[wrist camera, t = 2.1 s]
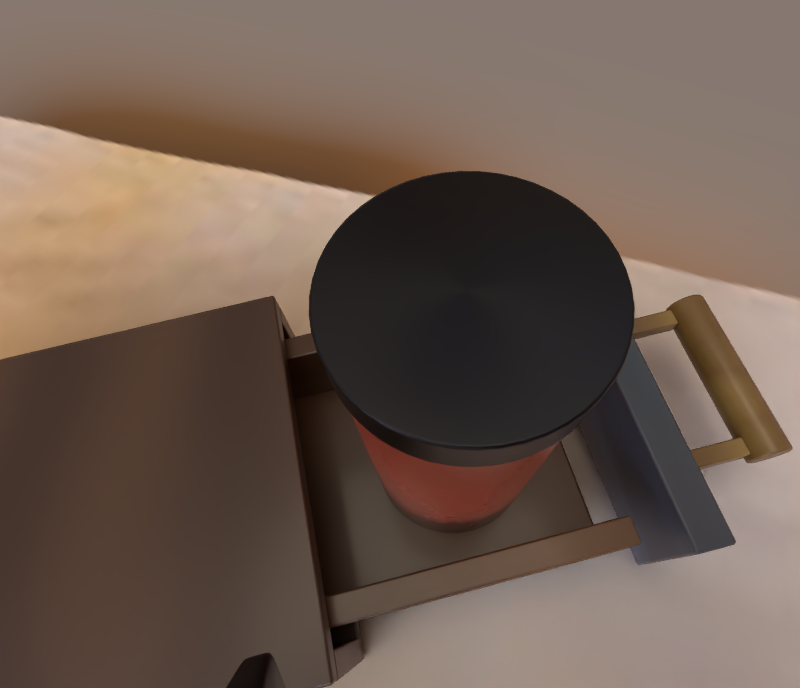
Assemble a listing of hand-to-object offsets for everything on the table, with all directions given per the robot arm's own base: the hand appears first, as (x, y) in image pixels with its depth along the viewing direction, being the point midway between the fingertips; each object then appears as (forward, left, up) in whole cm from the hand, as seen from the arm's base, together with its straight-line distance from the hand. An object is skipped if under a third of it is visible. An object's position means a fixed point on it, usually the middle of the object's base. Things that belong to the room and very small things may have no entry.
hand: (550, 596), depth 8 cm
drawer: (+4, -3, -11) cm, 12 cm away
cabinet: (+10, +10, -12) cm, 18 cm away
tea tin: (+4, -2, -10) cm, 11 cm away
